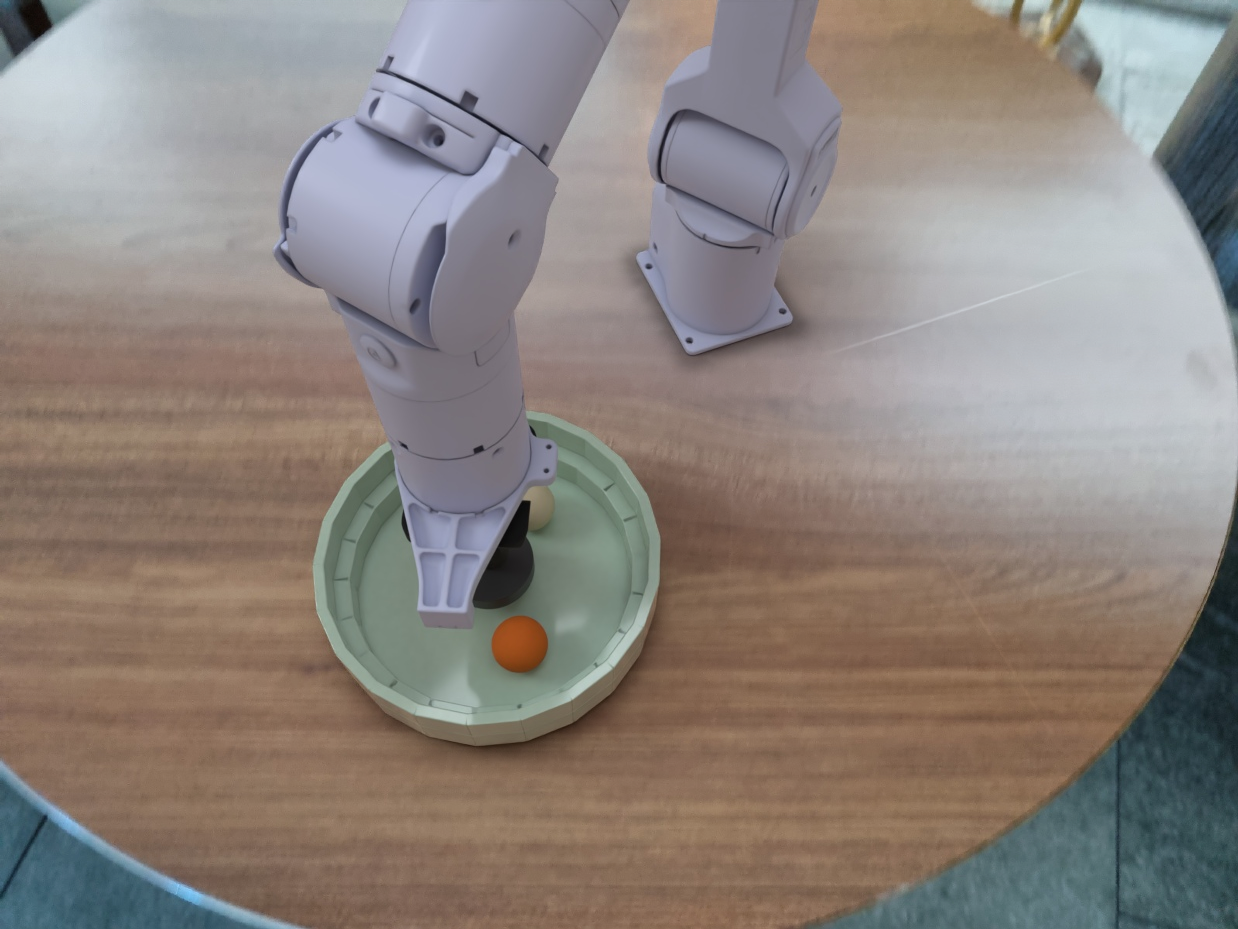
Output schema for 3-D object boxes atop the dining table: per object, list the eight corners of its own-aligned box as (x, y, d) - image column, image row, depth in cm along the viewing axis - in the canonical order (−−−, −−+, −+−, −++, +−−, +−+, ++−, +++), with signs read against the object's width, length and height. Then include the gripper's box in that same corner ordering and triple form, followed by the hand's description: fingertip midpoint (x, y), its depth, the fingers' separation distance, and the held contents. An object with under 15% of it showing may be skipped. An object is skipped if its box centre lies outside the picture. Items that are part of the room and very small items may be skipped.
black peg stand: (538, 531, 52) (530, 464, 46) (530, 612, 50) (520, 552, 43) (453, 527, 52) (433, 459, 46) (441, 607, 50) (418, 548, 43)
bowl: (304, 507, 56) (279, 466, 51) (589, 415, 59) (588, 369, 55) (381, 803, 47) (360, 783, 43) (707, 673, 51) (718, 643, 47)
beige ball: (498, 503, 55) (493, 479, 52) (545, 487, 56) (543, 462, 53) (514, 546, 54) (510, 523, 51) (563, 529, 54) (561, 506, 52)
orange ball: (487, 638, 51) (481, 619, 48) (538, 619, 51) (535, 599, 49) (504, 688, 50) (499, 671, 47) (556, 668, 50) (554, 650, 48)
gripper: (536, 572, 33) (552, 685, 45) (566, 263, 40) (572, 430, 52) (337, 563, 33) (405, 677, 45) (403, 255, 40) (447, 424, 52)
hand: (486, 544), depth 48 cm, fingers closed on black peg stand
